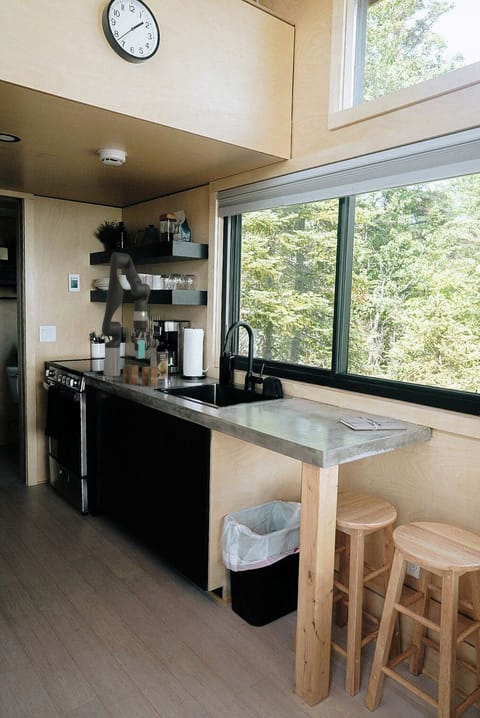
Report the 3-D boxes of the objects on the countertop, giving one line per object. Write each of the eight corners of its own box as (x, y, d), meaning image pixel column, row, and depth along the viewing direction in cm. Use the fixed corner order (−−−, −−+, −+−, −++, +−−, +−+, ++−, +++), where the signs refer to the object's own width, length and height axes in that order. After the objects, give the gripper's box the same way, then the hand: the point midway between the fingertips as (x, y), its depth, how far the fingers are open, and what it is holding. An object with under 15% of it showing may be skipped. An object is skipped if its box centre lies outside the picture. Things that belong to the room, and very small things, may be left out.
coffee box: (157, 379, 316) (157, 352, 314) (150, 378, 320) (150, 352, 318) (168, 378, 323) (168, 352, 322) (160, 377, 327) (161, 351, 325)
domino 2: (129, 383, 296) (129, 366, 295) (135, 382, 300) (135, 365, 299) (131, 384, 294) (131, 366, 294) (138, 383, 299) (138, 365, 298)
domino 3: (135, 358, 292) (135, 340, 291) (142, 357, 296) (142, 340, 295) (138, 358, 290) (138, 340, 290) (144, 358, 295) (144, 340, 294)
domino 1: (123, 382, 298) (123, 365, 298) (129, 382, 303) (129, 364, 302) (125, 383, 297) (125, 365, 296) (131, 382, 301) (132, 365, 301)
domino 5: (148, 386, 287) (148, 368, 286) (154, 385, 291) (155, 367, 290) (151, 386, 286) (151, 368, 285) (157, 385, 290) (157, 367, 289)
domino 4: (141, 385, 290) (141, 367, 289) (148, 384, 294) (148, 366, 293) (144, 385, 289) (144, 367, 288) (150, 384, 293) (151, 367, 292)
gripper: (144, 319, 299) (144, 349, 301) (126, 319, 287) (125, 350, 289) (154, 319, 295) (154, 350, 296) (135, 319, 283) (135, 351, 285)
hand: (140, 350), depth 293 cm, fingers closed on domino 3, 5 cm apart
